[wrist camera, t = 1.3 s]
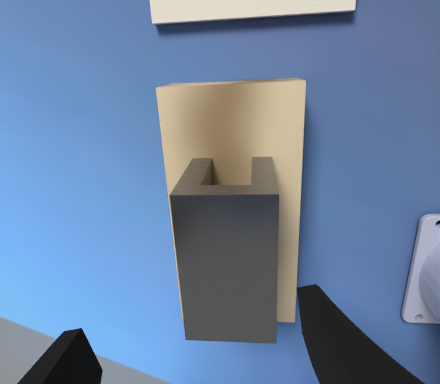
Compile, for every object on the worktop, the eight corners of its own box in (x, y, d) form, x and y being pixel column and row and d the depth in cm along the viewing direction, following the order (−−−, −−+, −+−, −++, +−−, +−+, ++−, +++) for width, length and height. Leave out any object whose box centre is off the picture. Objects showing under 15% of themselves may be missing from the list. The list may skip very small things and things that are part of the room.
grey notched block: (271, 156, 16) (279, 194, 12) (270, 274, 19) (276, 343, 14) (192, 158, 17) (169, 195, 12) (202, 273, 19) (185, 339, 15)
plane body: (297, 78, 18) (315, 84, 12) (289, 290, 23) (300, 356, 18) (170, 83, 18) (138, 92, 13) (190, 288, 23) (173, 351, 18)
